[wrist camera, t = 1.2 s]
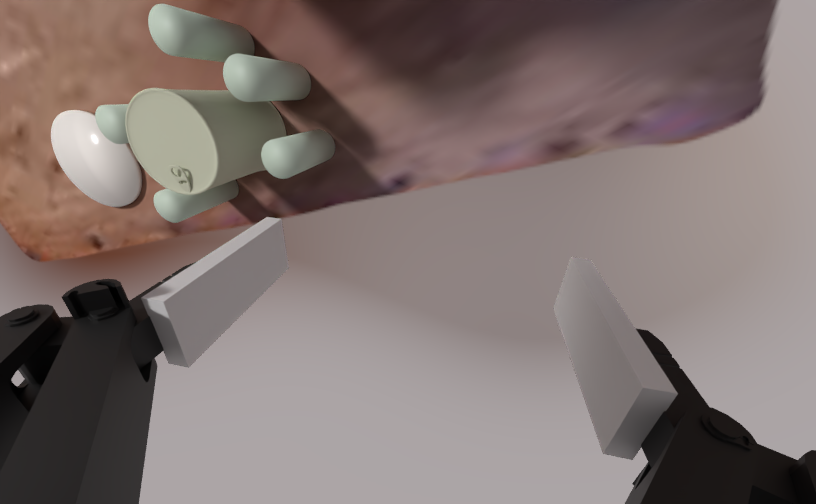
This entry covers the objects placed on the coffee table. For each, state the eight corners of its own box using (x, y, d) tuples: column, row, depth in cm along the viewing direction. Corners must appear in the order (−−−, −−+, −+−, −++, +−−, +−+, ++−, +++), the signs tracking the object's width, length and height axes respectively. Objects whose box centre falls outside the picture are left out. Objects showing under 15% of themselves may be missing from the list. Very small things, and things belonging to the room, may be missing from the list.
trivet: (44, 151, 46) (39, 151, 45) (75, 87, 40) (69, 87, 40) (119, 221, 49) (115, 223, 48) (157, 171, 43) (153, 172, 43)
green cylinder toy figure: (230, 171, 41) (146, 197, 31) (206, 92, 37) (99, 91, 27) (294, 169, 40) (228, 197, 29) (276, 85, 36) (192, 82, 25)
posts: (158, 128, 41) (81, 137, 33) (249, -4, 32) (175, -35, 24) (253, 229, 45) (205, 258, 37) (356, 135, 36) (322, 146, 28)
